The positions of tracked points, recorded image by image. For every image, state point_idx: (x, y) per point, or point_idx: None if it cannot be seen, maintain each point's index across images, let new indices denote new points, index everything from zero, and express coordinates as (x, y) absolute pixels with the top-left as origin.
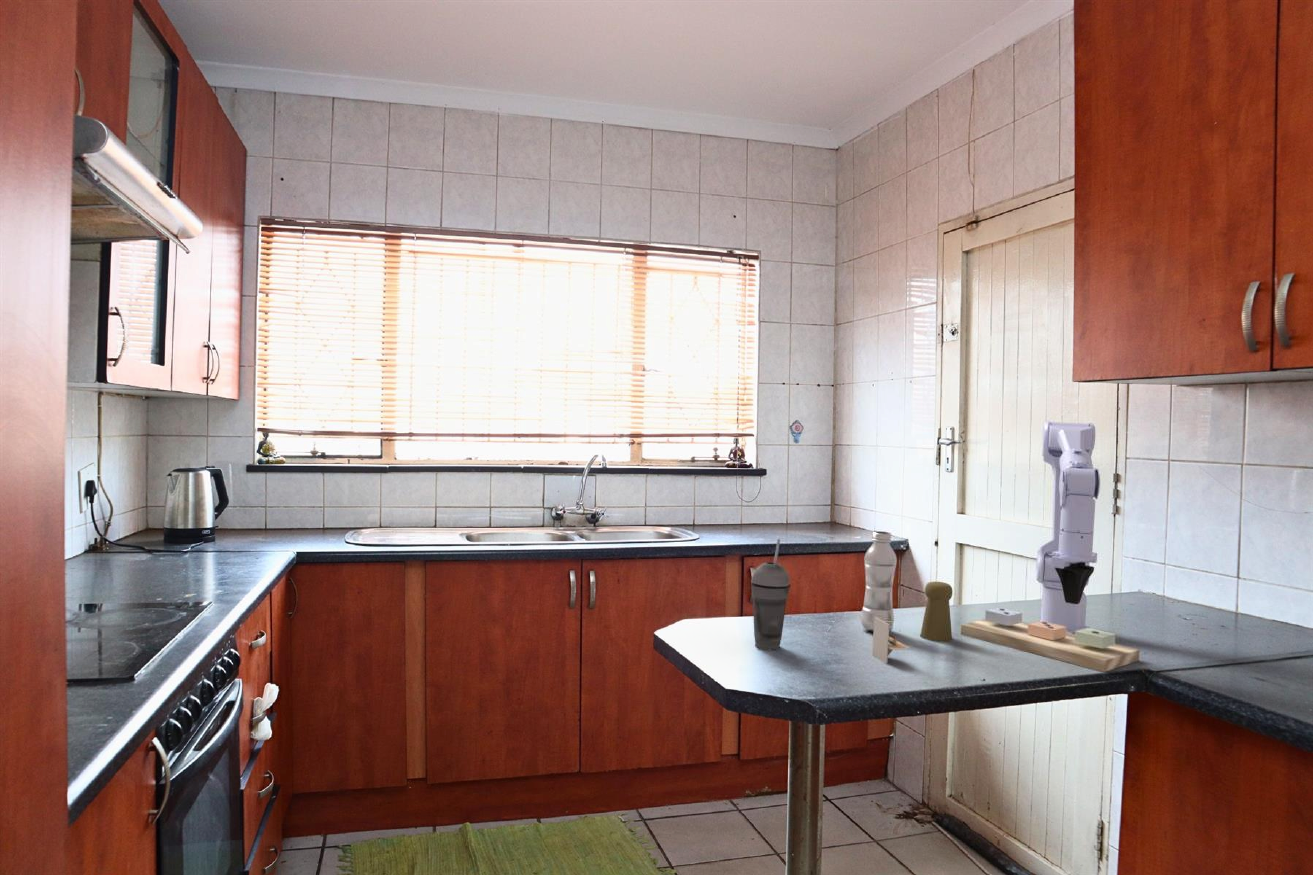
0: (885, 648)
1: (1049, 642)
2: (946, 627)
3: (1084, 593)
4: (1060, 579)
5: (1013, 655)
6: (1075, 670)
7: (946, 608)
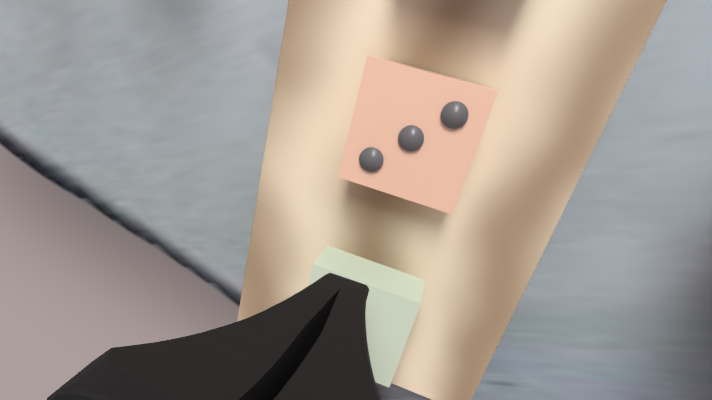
0: None
1: (321, 158)
2: None
3: None
4: (217, 329)
5: (210, 60)
6: (209, 240)
7: None
